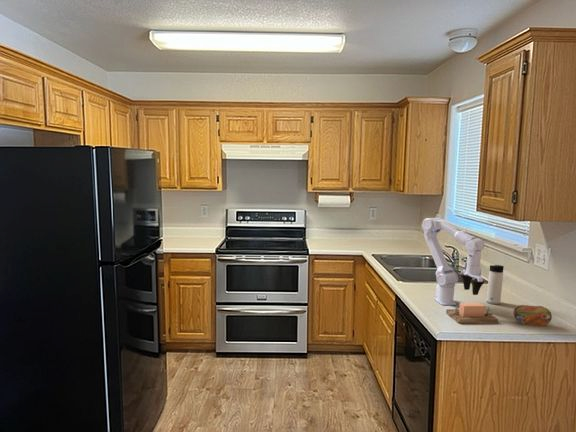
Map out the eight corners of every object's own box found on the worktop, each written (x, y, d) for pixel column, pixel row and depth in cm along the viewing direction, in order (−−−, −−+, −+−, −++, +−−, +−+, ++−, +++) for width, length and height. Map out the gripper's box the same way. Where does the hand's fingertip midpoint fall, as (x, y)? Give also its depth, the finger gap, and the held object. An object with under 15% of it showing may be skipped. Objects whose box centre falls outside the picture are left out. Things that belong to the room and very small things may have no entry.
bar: (479, 315, 189) (480, 302, 188) (484, 318, 185) (485, 305, 184) (458, 315, 188) (459, 303, 187) (463, 318, 184) (464, 306, 183)
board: (446, 313, 191) (446, 303, 191) (482, 313, 193) (483, 303, 192) (458, 323, 180) (459, 312, 179) (497, 323, 181) (498, 312, 180)
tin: (514, 323, 181) (516, 305, 180) (511, 321, 184) (513, 303, 183) (551, 326, 179) (553, 308, 178) (547, 324, 182) (549, 305, 181)
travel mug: (492, 305, 204) (495, 266, 202) (483, 300, 211) (487, 263, 208) (503, 305, 205) (507, 266, 203) (494, 300, 212) (498, 263, 209)
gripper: (457, 260, 199) (455, 287, 201) (473, 268, 185) (470, 297, 187) (471, 260, 200) (469, 287, 202) (488, 268, 186) (485, 297, 187)
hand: (470, 292), depth 194 cm, fingers open, 7 cm apart
